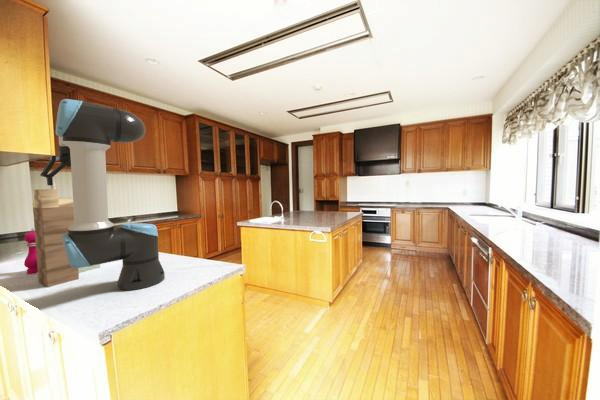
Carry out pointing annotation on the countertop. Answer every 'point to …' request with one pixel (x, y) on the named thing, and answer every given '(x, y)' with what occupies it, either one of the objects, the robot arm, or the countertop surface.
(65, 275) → the walnut post
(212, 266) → the countertop surface
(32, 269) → the pepper mill
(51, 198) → the tan tall block
